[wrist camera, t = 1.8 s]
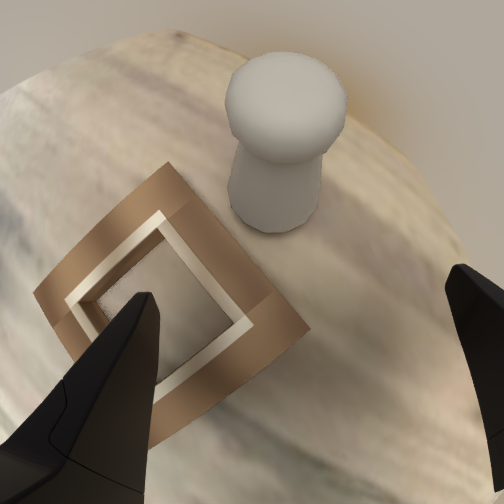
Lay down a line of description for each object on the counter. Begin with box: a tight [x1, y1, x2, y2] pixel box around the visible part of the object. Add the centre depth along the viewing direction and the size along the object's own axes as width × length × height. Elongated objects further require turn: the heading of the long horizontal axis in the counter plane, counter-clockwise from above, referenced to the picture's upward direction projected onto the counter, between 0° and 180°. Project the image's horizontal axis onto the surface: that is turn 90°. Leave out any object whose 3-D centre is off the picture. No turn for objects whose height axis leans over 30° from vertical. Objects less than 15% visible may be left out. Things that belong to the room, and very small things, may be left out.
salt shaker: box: [225, 52, 348, 233], centre depth 15 cm, size 6×6×13 cm
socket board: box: [33, 162, 311, 450], centre depth 20 cm, size 14×14×3 cm
